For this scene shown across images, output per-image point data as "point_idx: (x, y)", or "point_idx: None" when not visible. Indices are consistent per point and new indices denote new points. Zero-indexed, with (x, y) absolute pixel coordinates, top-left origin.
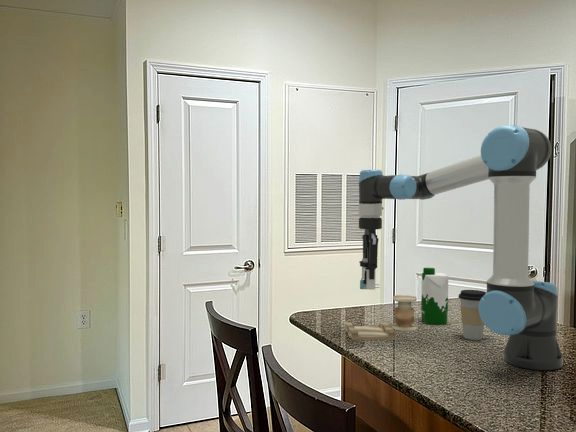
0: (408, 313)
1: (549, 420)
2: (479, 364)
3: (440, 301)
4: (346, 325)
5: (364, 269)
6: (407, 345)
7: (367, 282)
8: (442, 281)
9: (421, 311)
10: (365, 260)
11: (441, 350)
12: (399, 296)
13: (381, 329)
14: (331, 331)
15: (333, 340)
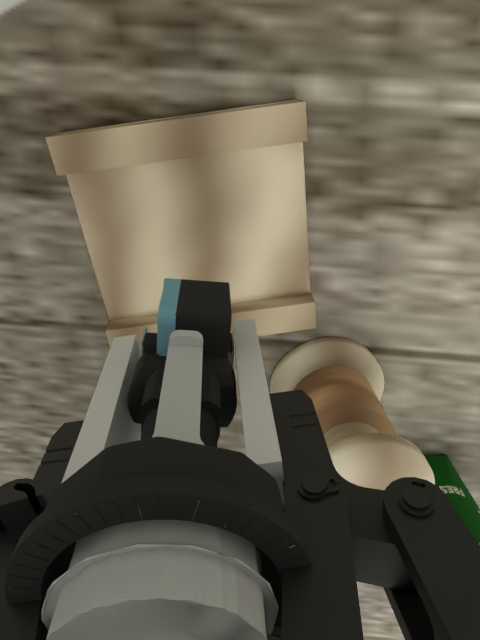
0: None
1: None
2: None
3: None
4: (234, 110)
5: (255, 444)
6: (46, 371)
7: (102, 379)
8: None
9: (449, 485)
10: (56, 613)
11: (10, 463)
12: (388, 475)
13: (240, 297)
14: (258, 5)
15: (38, 12)
